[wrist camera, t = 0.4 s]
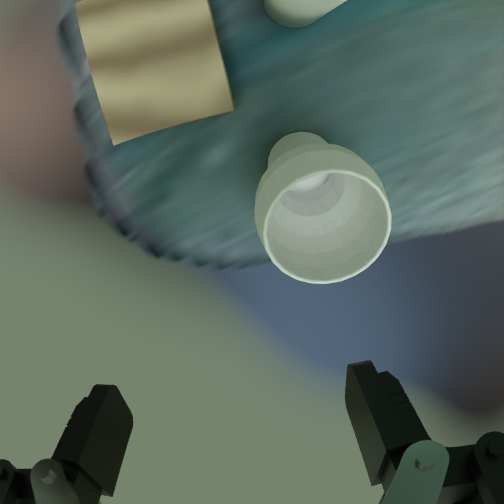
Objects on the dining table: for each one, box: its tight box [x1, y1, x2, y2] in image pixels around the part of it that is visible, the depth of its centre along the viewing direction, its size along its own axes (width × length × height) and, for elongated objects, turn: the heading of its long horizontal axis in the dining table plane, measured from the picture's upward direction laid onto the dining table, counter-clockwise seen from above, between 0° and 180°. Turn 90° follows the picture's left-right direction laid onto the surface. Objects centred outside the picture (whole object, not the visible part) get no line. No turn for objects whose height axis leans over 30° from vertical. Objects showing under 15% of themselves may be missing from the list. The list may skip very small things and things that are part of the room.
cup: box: [255, 132, 391, 284], centre depth 27 cm, size 11×11×15 cm
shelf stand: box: [75, 0, 235, 145], centre depth 23 cm, size 16×12×6 cm
